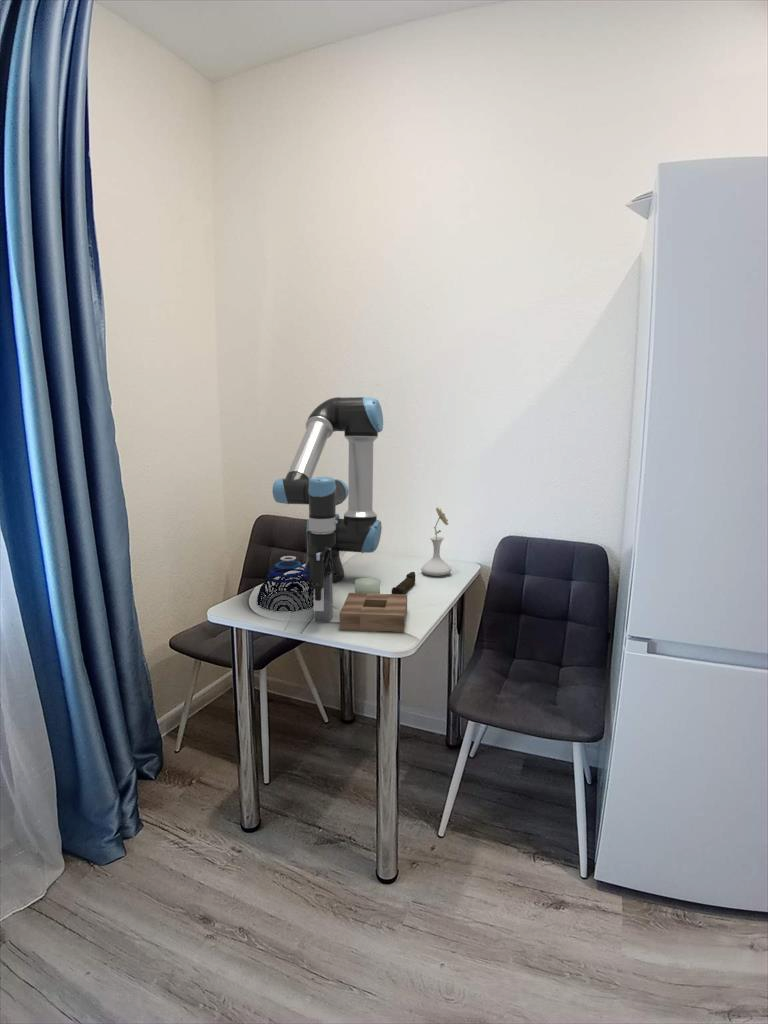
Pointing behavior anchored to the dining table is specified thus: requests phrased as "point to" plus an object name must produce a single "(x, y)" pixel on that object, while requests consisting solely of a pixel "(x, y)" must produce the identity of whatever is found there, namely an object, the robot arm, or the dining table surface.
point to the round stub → (367, 585)
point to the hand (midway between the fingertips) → (323, 602)
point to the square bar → (326, 600)
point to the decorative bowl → (289, 587)
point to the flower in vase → (437, 553)
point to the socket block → (374, 612)
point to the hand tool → (405, 584)
